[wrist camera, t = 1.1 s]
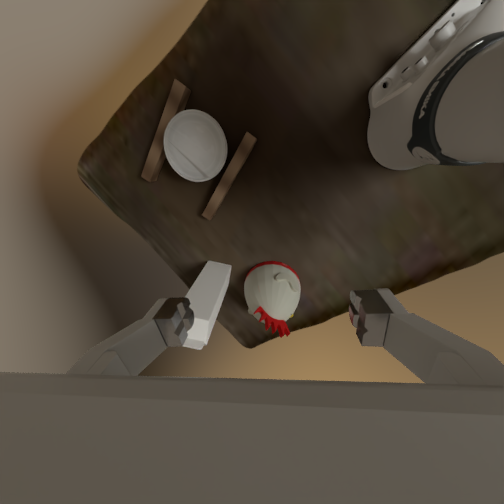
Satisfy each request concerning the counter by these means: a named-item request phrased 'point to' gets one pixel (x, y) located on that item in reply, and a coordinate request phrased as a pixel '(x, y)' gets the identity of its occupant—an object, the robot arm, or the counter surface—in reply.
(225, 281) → the milk
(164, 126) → the parallel wooden rails
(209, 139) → the ramekin
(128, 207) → the counter surface
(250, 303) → the kitchen timer
